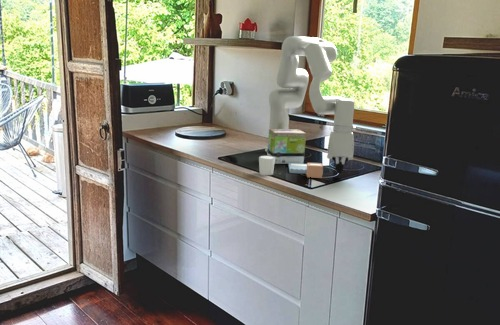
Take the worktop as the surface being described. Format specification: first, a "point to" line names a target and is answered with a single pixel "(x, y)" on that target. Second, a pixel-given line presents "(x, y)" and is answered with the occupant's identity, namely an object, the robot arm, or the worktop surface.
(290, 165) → the blue microchip card
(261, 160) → the shot glass
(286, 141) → the tea box
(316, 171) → the cardboard box
